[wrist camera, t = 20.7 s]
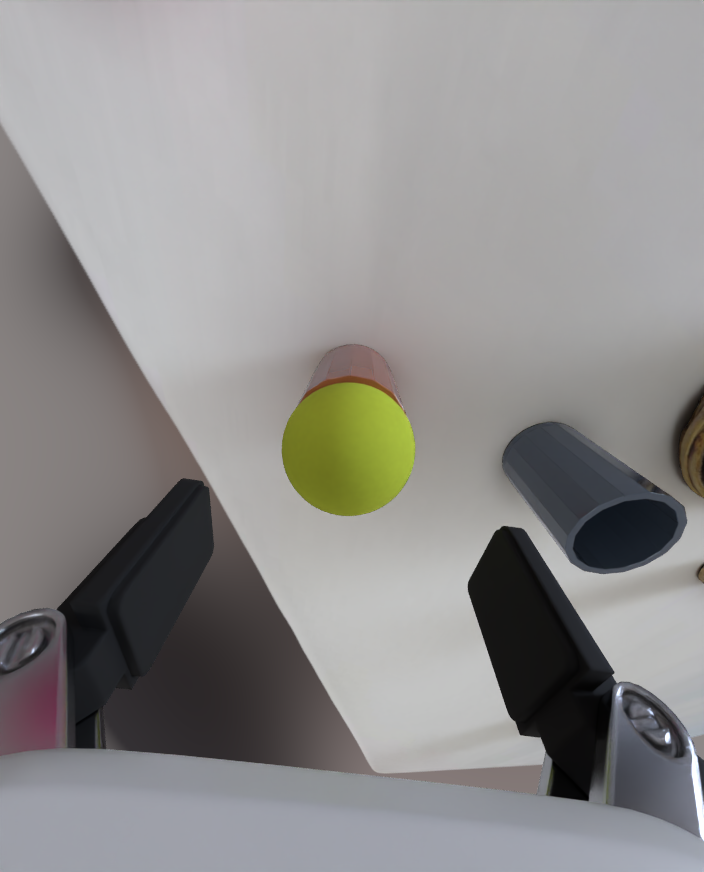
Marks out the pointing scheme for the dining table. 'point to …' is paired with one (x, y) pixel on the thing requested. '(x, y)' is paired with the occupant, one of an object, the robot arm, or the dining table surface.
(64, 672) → the robot arm
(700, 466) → the tankard
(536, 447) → the grey cup
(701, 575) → the sprinkles bottle
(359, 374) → the terracotta cup
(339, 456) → the ball
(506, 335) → the dining table surface
